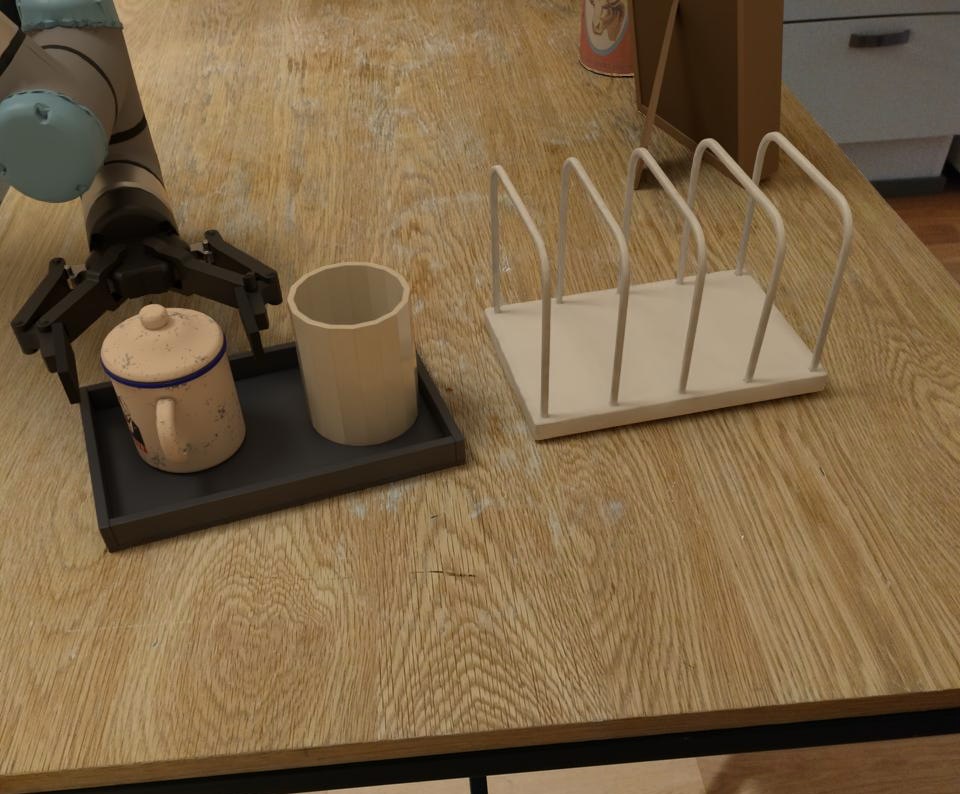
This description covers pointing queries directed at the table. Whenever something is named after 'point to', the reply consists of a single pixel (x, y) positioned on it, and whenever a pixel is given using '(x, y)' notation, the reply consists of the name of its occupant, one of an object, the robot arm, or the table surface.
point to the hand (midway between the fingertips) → (165, 368)
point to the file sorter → (655, 319)
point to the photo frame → (710, 75)
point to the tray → (252, 456)
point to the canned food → (606, 36)
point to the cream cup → (356, 351)
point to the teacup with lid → (175, 388)
